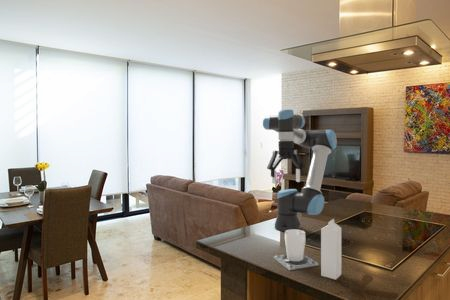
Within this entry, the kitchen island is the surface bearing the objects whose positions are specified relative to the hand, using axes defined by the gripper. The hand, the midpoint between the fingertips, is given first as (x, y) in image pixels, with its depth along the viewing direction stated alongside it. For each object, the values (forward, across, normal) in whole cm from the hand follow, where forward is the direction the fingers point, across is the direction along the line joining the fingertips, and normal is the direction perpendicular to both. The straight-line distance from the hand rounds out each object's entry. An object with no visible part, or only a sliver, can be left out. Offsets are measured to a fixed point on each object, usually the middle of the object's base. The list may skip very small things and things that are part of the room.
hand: (286, 182), depth 163 cm
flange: (+32, +8, +21) cm, 39 cm away
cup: (+31, +8, +21) cm, 38 cm away
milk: (+32, +2, +38) cm, 50 cm away
